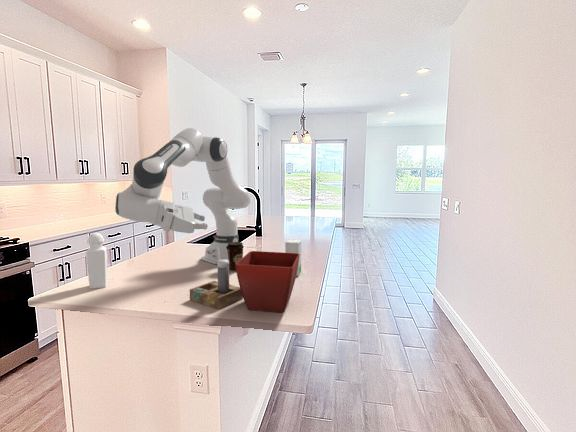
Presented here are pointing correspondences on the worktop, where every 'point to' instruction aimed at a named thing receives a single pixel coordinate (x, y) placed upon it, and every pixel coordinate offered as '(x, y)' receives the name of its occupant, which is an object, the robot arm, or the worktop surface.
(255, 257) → the plant pot
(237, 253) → the coffee cup
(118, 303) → the worktop surface
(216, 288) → the socket deck
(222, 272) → the grey cylinder
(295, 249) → the skincare box
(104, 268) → the white bottle
